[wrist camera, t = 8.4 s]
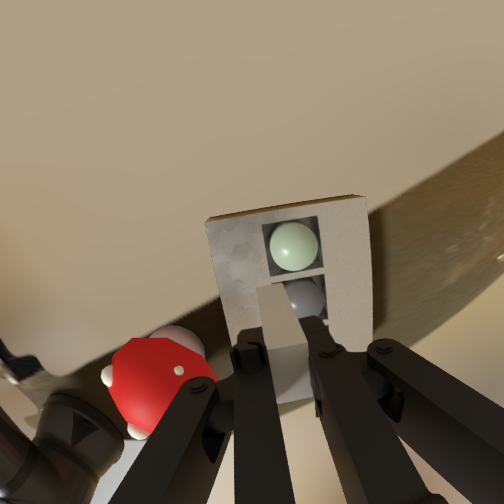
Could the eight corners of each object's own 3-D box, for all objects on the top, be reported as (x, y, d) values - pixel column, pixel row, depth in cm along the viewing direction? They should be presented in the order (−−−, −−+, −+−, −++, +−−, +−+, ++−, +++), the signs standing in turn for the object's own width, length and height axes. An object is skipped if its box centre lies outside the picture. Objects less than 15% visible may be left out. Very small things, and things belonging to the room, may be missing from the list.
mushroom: (131, 372, 32) (96, 439, 20) (133, 294, 29) (81, 353, 18) (214, 392, 33) (204, 469, 21) (230, 316, 30) (222, 391, 18)
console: (242, 366, 32) (242, 385, 28) (209, 217, 27) (204, 222, 24) (361, 343, 31) (371, 359, 28) (352, 194, 27) (365, 196, 24)
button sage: (272, 267, 27) (274, 274, 25) (265, 224, 26) (267, 228, 24) (314, 259, 27) (320, 266, 25) (309, 217, 26) (314, 220, 24)
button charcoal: (280, 317, 28) (282, 327, 26) (274, 279, 27) (276, 287, 25) (320, 309, 28) (325, 319, 26) (316, 271, 27) (321, 279, 25)
